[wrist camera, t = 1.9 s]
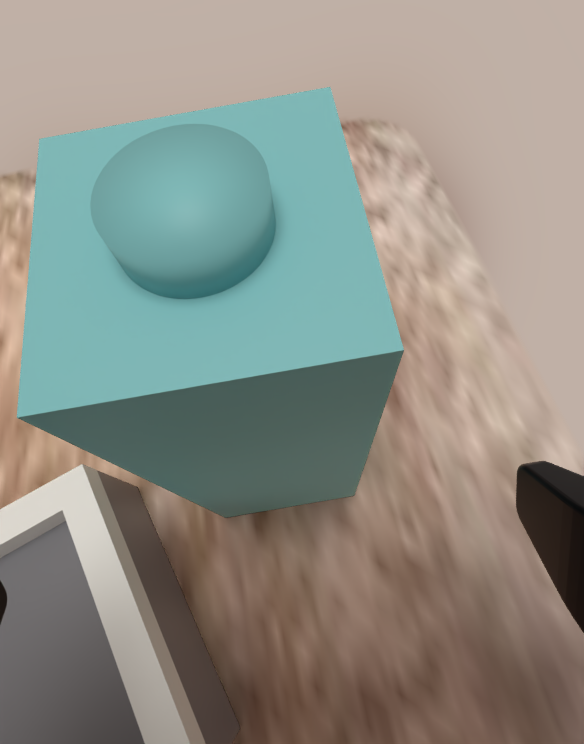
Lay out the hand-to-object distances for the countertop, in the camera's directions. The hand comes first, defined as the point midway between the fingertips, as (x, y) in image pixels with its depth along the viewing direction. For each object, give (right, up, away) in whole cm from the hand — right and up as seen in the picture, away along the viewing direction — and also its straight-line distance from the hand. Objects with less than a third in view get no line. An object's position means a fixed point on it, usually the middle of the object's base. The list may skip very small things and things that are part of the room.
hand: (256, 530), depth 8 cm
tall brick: (0, 0, +11) cm, 11 cm away
